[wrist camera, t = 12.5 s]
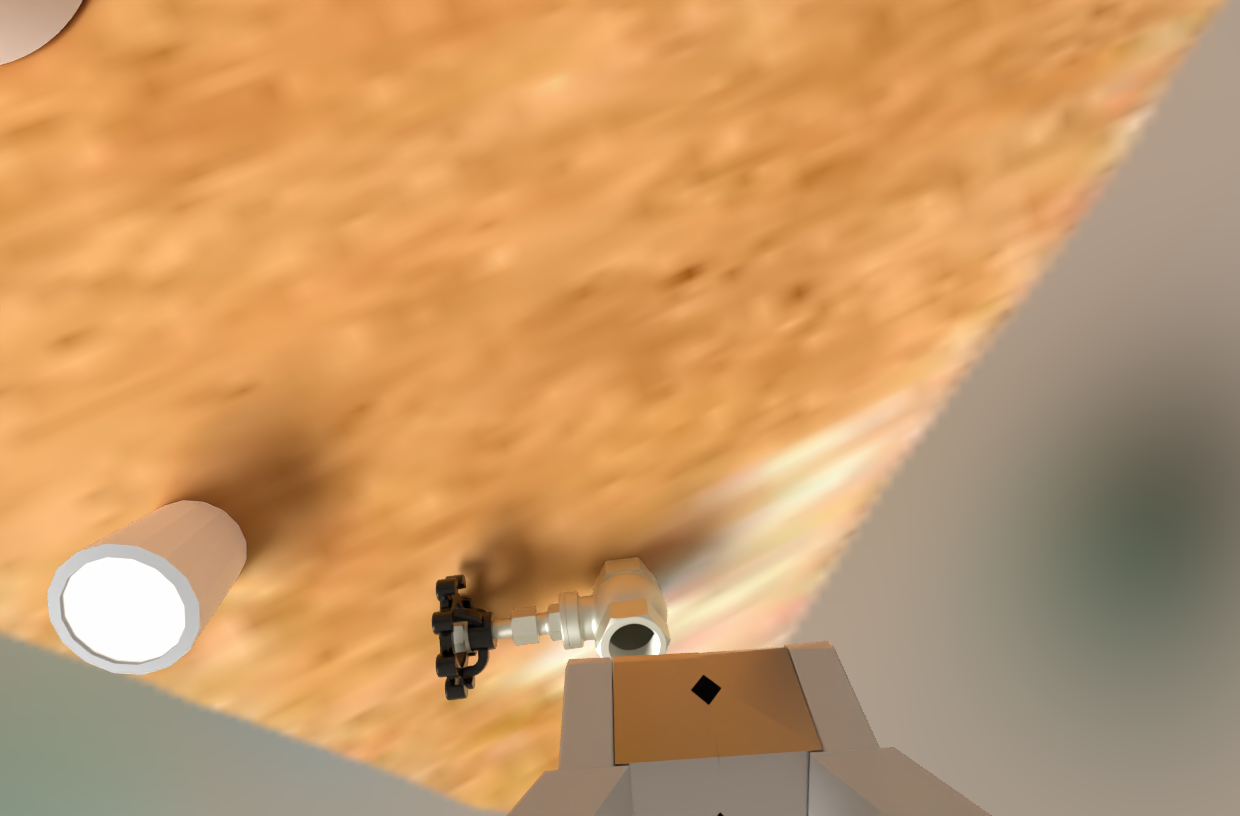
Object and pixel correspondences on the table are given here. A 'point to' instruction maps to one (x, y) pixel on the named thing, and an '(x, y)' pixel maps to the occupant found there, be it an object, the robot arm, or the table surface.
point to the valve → (553, 622)
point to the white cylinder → (147, 587)
